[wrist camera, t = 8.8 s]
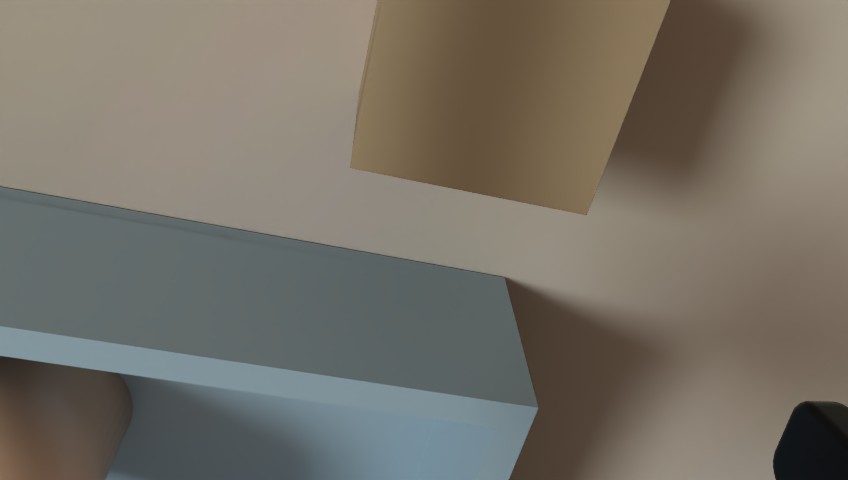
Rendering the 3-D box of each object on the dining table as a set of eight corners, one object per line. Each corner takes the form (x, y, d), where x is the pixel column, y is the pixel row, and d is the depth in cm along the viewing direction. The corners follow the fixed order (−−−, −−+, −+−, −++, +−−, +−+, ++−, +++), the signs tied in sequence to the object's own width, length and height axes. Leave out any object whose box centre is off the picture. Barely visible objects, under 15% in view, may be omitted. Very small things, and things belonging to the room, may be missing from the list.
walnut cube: (608, -67, 17) (683, -31, 13) (542, 128, 19) (586, 215, 15) (401, -121, 16) (405, -103, 12) (359, 89, 19) (350, 167, 14)
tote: (504, 277, 22) (538, 407, 17) (404, 566, 28) (408, 721, 23) (-138, 162, 19) (-319, 277, 14) (-85, 510, 25) (-196, 673, 20)
